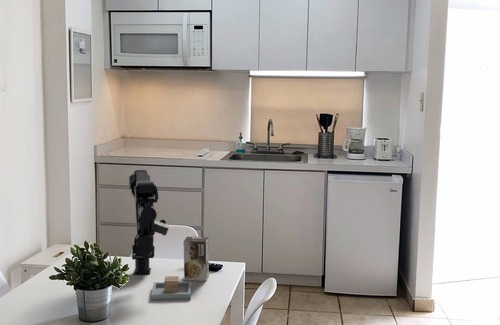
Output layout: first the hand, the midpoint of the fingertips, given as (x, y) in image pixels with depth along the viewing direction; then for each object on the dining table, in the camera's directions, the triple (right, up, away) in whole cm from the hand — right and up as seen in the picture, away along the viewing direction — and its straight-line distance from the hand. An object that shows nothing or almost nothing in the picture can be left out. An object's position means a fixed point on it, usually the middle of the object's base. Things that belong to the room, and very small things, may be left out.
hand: (146, 255), depth 214 cm
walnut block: (+10, -12, -5) cm, 17 cm away
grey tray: (+10, -13, -5) cm, 18 cm away
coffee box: (+18, -11, +12) cm, 24 cm away
